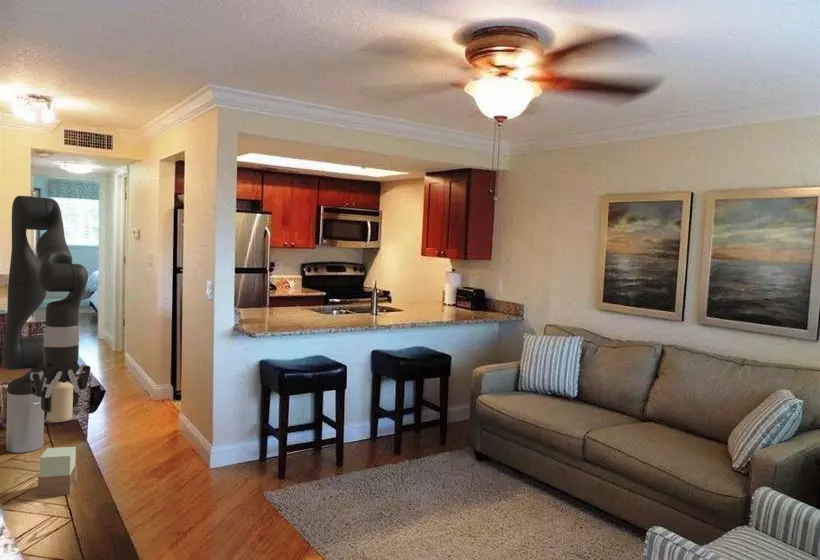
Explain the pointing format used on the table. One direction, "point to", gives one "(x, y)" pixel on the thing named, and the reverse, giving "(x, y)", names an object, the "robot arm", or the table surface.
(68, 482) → the base block
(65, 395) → the candle
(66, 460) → the top block
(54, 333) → the robot arm
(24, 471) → the table surface
